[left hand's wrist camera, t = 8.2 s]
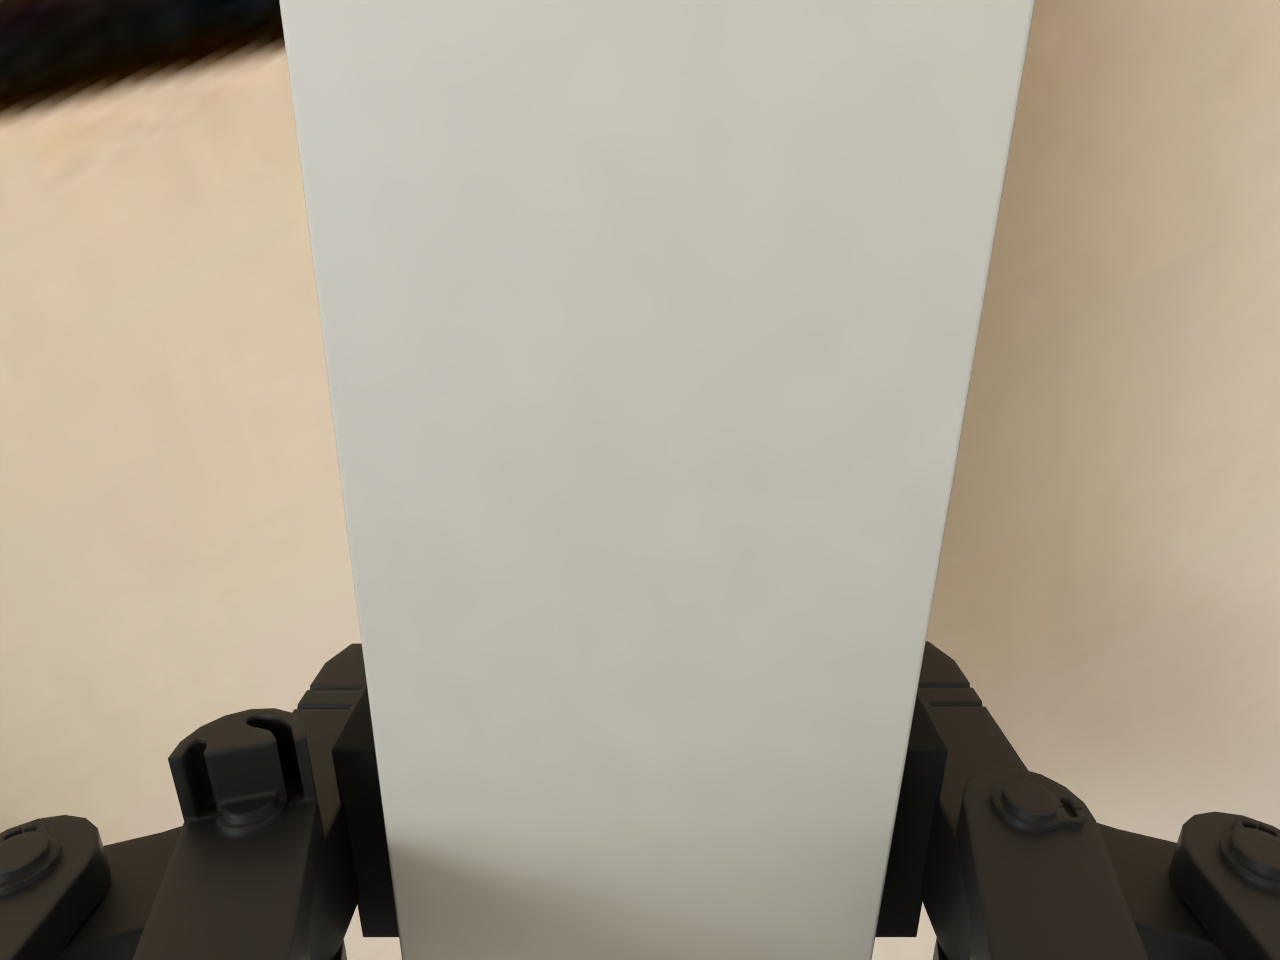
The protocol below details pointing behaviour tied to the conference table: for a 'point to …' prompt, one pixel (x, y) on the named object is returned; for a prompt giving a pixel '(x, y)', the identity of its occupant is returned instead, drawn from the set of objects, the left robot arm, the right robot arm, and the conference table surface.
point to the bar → (647, 442)
